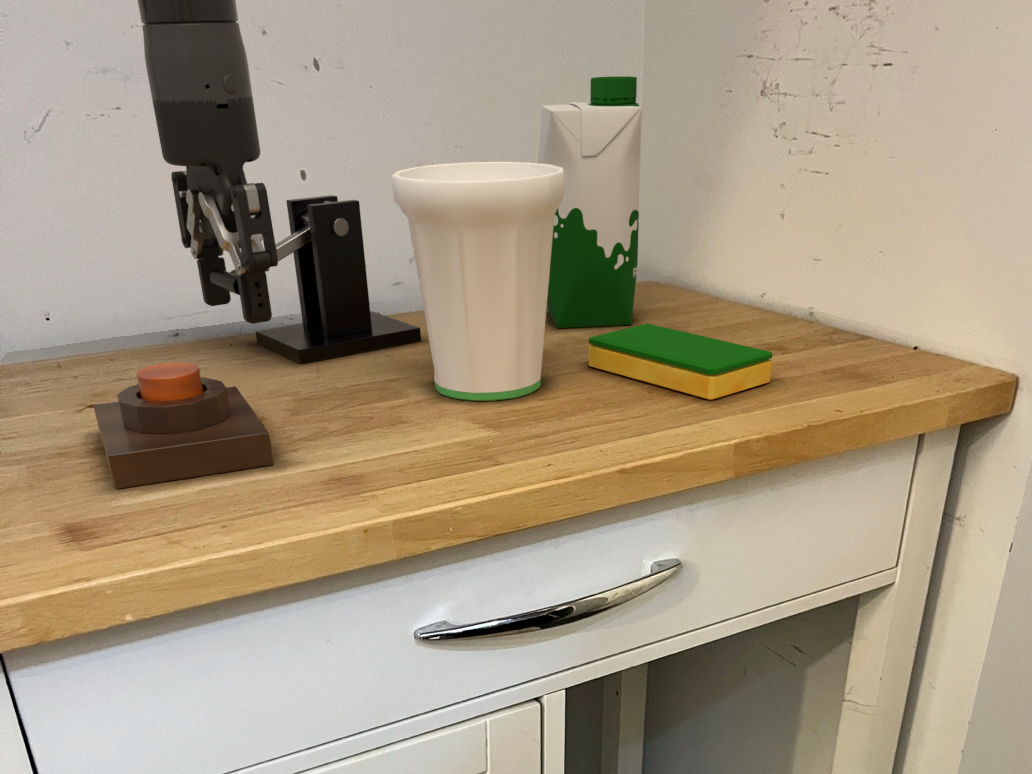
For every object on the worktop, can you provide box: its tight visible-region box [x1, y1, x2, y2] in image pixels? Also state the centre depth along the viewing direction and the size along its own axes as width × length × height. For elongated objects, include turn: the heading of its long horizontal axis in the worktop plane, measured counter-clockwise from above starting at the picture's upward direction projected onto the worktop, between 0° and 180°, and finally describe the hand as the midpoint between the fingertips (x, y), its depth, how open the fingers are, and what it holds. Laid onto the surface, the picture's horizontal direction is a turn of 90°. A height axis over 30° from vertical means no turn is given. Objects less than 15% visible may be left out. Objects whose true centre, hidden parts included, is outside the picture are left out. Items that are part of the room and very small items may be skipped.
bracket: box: [254, 194, 422, 365], centre depth 96 cm, size 12×9×12 cm
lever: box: [210, 201, 329, 296], centre depth 92 cm, size 12×5×2 cm, turn 127°
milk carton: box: [537, 76, 643, 329], centre depth 100 cm, size 9×9×20 cm
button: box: [136, 362, 204, 401], centre depth 72 cm, size 4×4×2 cm
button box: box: [93, 376, 275, 490], centre depth 74 cm, size 12×10×4 cm
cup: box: [391, 161, 564, 402], centre depth 82 cm, size 12×12×15 cm
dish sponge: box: [588, 323, 773, 401], centre depth 87 cm, size 7×14×2 cm, turn 40°
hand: (237, 312), depth 93 cm, fingers open, 8 cm apart
